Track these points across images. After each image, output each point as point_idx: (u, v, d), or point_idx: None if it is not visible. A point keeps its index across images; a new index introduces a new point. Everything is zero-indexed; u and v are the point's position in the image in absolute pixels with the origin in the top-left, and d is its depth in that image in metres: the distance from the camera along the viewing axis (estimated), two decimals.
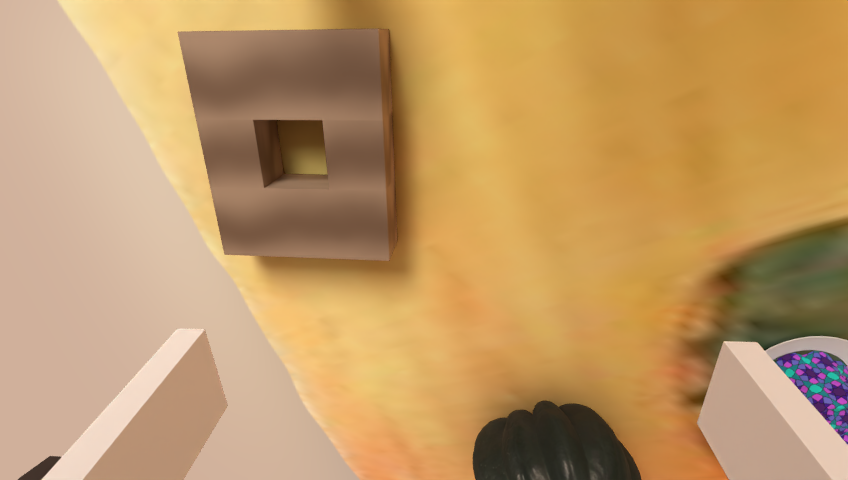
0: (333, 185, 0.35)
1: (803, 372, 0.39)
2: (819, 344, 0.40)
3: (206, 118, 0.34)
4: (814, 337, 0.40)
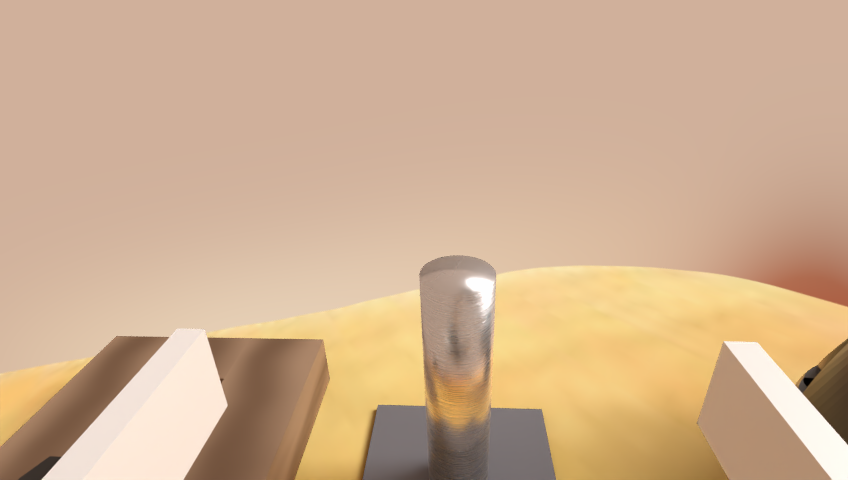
0: None
1: None
2: None
3: (246, 345, 0.35)
4: None
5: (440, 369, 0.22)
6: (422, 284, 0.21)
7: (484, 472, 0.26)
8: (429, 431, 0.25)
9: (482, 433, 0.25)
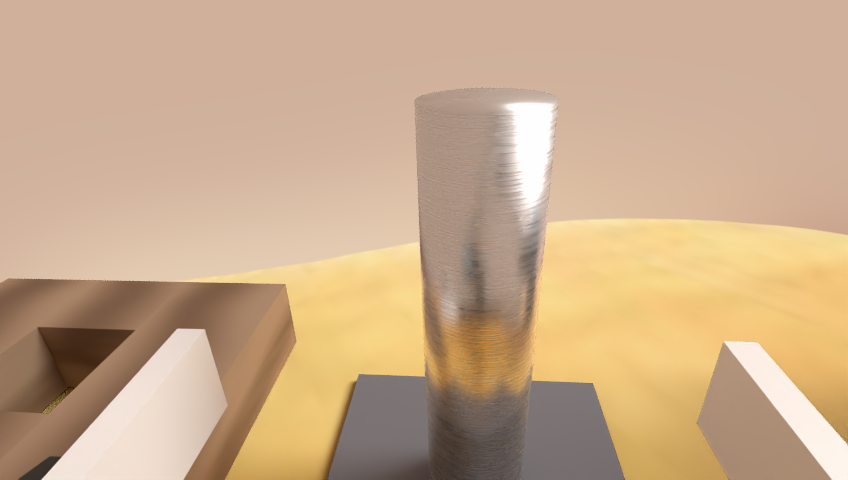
0: None
1: None
2: None
3: (178, 290, 0.26)
4: None
5: (451, 281, 0.12)
6: (419, 109, 0.11)
7: (518, 471, 0.16)
8: (430, 401, 0.15)
9: (519, 404, 0.15)
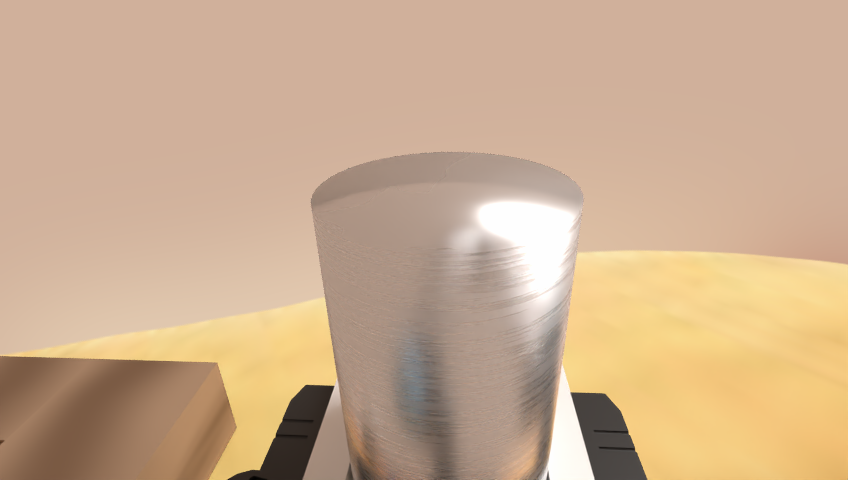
0: None
1: None
2: None
3: (79, 371, 0.20)
4: None
5: None
6: (314, 218, 0.06)
7: None
8: None
9: None
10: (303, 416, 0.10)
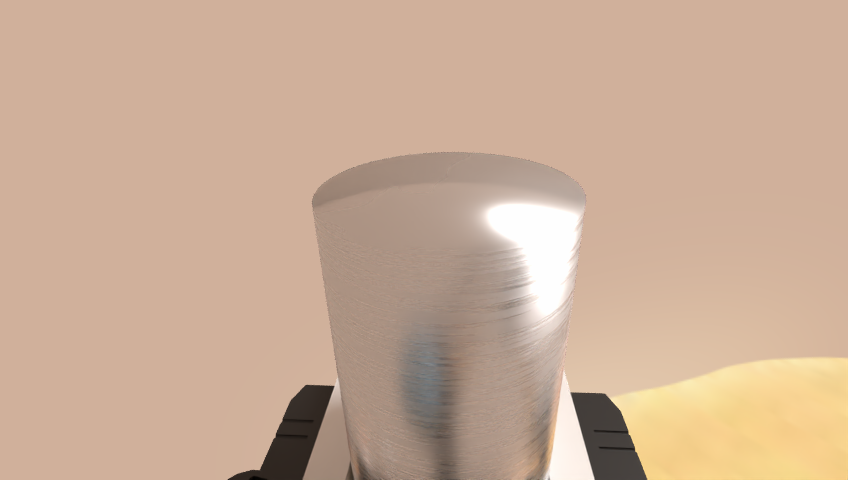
0: None
1: None
2: None
3: None
4: None
5: None
6: (315, 219, 0.06)
7: None
8: None
9: None
10: (303, 416, 0.10)
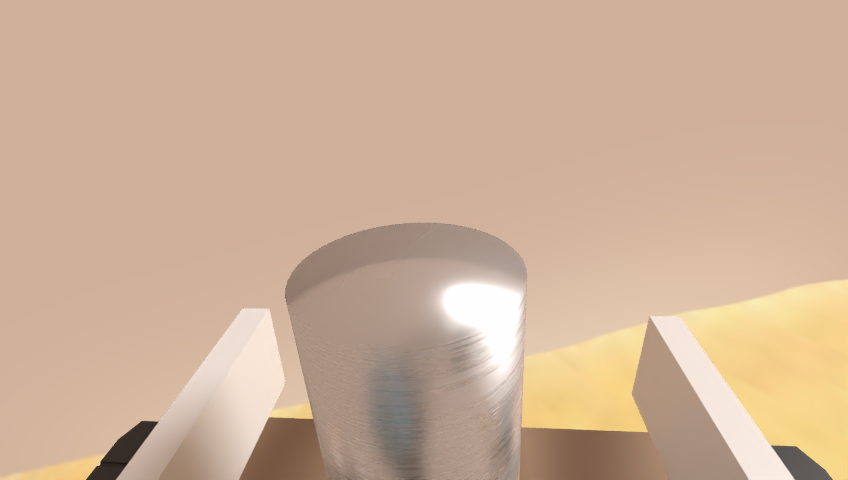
0: None
1: None
2: None
3: (526, 445, 0.17)
4: None
5: None
6: None
7: None
8: None
9: None
10: (124, 458, 0.09)
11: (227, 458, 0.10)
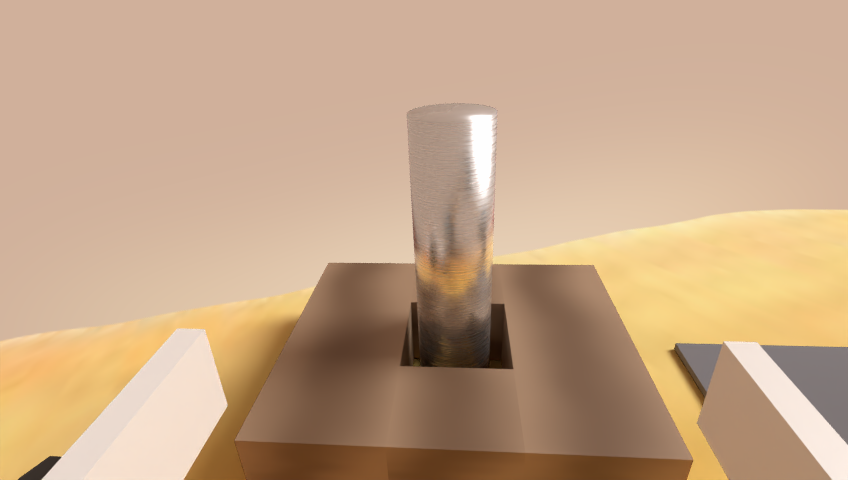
0: (405, 371, 0.21)
1: None
2: None
3: (500, 271, 0.29)
4: None
5: (432, 230, 0.19)
6: (410, 119, 0.18)
7: None
8: (420, 320, 0.22)
9: (482, 319, 0.21)
10: None
11: None
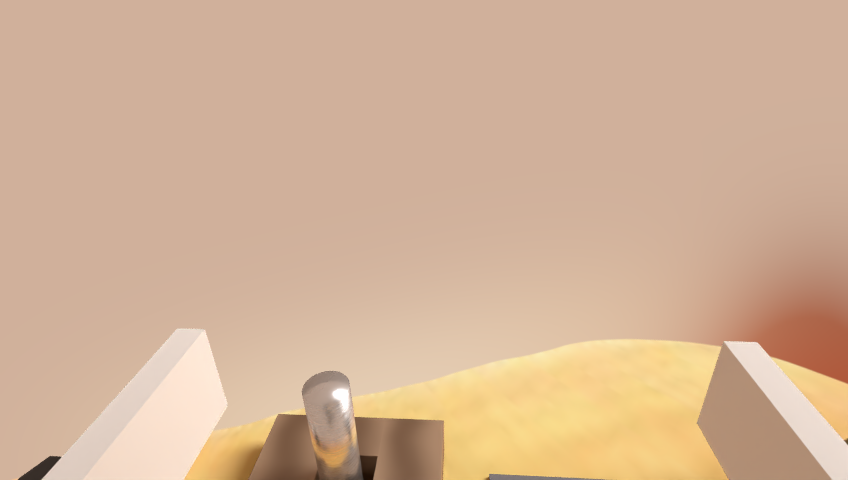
0: None
1: None
2: None
3: (384, 424, 0.46)
4: None
5: (317, 445, 0.36)
6: (302, 395, 0.35)
7: None
8: None
9: None
10: None
11: None
